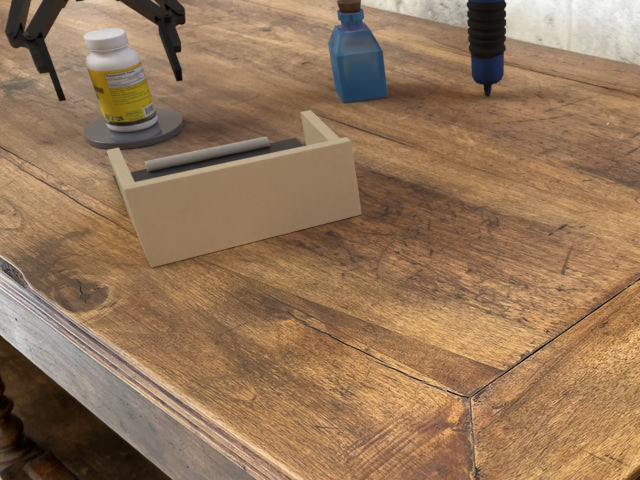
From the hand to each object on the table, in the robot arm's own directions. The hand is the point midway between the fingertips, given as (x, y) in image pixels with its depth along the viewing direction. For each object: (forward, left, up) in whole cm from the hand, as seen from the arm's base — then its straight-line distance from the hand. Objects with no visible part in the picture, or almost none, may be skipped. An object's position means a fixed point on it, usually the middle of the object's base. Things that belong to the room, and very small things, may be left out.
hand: (121, 85), depth 97 cm
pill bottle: (0, +2, -6) cm, 6 cm away
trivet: (0, +2, -6) cm, 7 cm away
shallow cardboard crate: (+6, -24, -6) cm, 25 cm away
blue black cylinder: (+45, -10, -7) cm, 47 cm away
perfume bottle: (+30, 0, -7) cm, 31 cm away
